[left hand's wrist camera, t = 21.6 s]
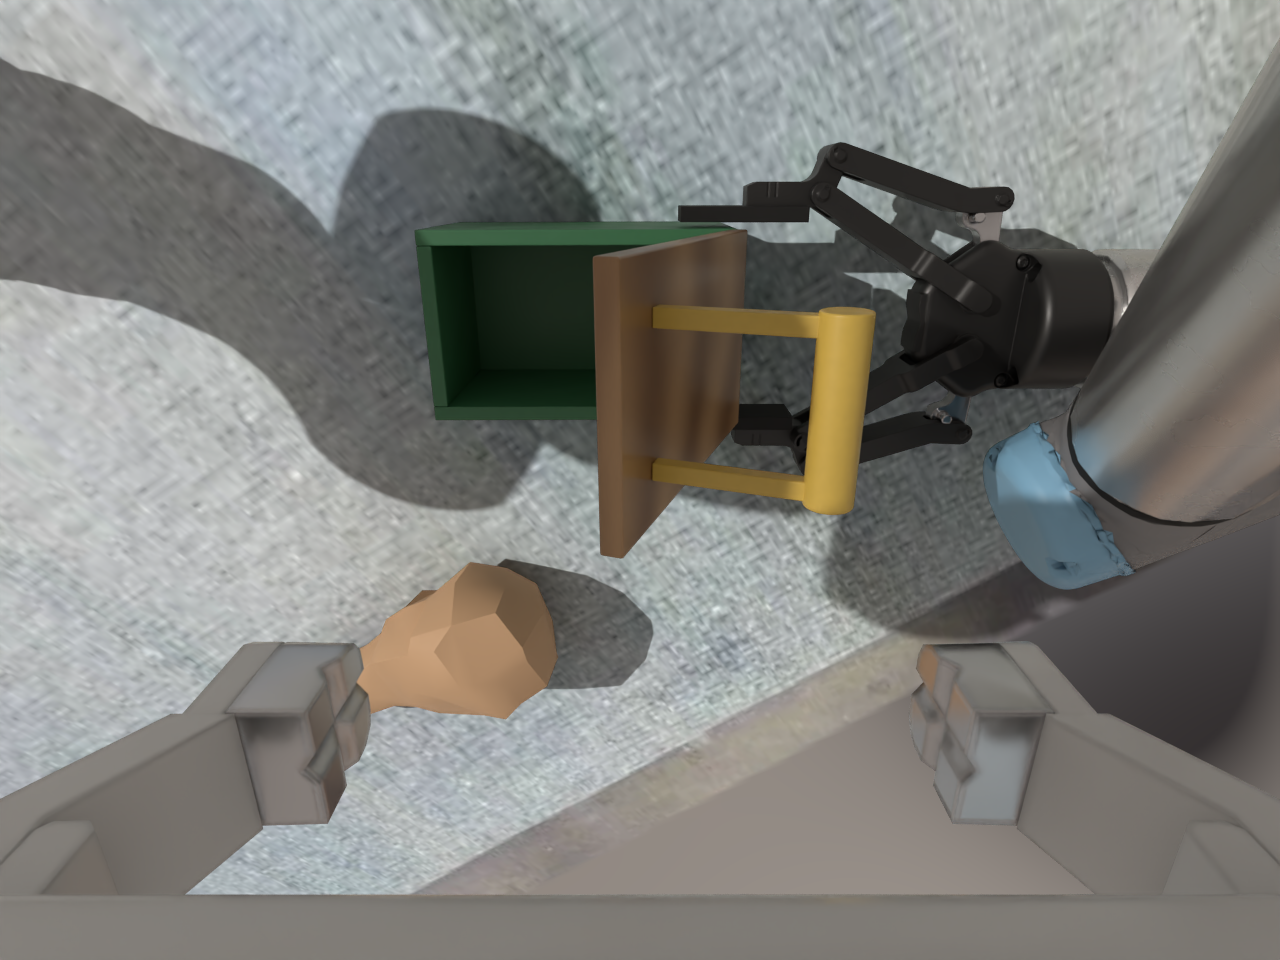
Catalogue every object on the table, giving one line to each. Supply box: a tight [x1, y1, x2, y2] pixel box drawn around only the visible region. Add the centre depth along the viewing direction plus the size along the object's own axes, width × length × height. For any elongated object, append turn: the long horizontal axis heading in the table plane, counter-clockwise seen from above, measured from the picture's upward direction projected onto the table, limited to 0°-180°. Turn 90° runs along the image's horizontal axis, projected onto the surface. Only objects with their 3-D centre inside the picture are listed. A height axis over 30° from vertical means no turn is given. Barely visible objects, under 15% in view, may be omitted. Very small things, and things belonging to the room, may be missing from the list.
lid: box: [593, 229, 876, 558], centre depth 29 cm, size 17×10×8 cm
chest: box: [415, 222, 735, 420], centre depth 42 cm, size 16×10×10 cm, turn 90°
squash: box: [357, 562, 558, 719], centre depth 52 cm, size 11×20×9 cm, turn 120°
